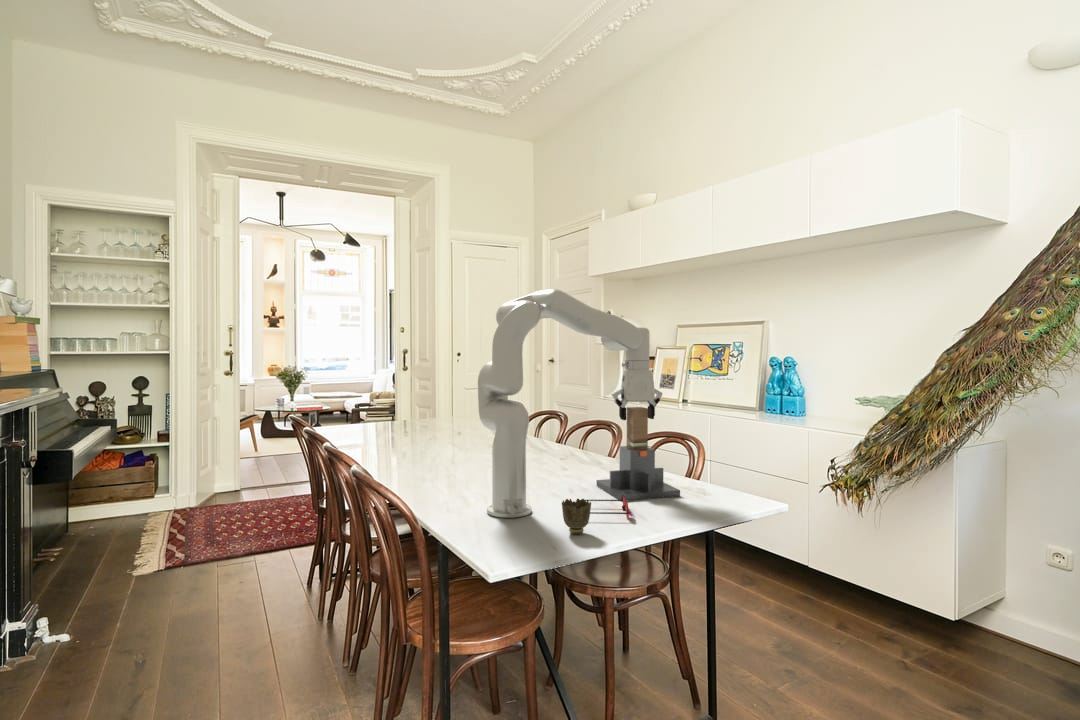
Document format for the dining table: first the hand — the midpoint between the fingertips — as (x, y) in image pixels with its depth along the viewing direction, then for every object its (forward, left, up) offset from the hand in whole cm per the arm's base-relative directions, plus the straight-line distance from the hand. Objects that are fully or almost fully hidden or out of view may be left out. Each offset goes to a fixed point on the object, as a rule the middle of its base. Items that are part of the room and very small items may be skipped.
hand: (637, 419), depth 193 cm
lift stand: (0, 0, -23) cm, 23 cm away
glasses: (-20, +21, -24) cm, 38 cm away
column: (0, 0, -15) cm, 15 cm away
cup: (-35, +33, -24) cm, 54 cm away
